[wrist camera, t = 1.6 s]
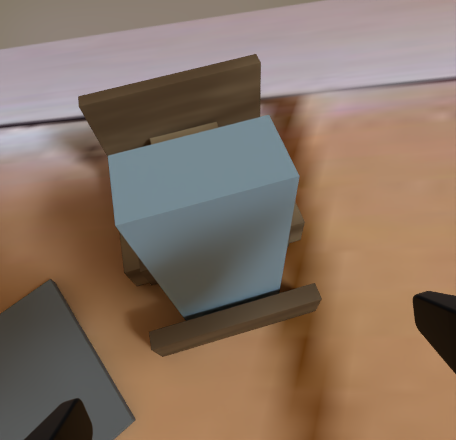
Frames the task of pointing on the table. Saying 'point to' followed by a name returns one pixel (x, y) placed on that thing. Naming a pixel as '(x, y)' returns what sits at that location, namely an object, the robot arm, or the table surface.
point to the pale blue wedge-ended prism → (209, 213)
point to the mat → (52, 368)
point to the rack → (177, 121)
